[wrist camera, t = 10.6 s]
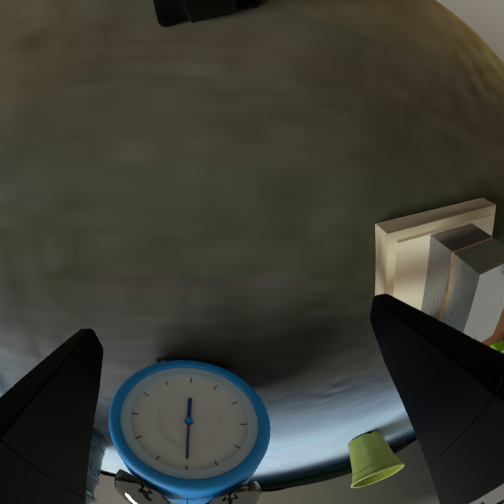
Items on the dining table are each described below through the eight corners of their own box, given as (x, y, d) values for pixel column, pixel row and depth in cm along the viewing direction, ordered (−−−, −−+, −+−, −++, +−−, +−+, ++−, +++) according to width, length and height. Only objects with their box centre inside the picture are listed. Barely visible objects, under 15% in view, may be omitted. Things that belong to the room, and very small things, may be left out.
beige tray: (375, 223, 20) (389, 235, 18) (482, 197, 20) (498, 205, 18) (373, 319, 25) (383, 335, 23) (469, 282, 25) (481, 293, 23)
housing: (420, 313, 22) (457, 362, 17) (430, 235, 19) (485, 279, 13) (458, 297, 22) (496, 339, 16) (471, 222, 19) (524, 259, 13)
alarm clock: (261, 361, 26) (286, 510, 13) (251, 396, 29) (266, 522, 15) (125, 347, 24) (89, 493, 11) (133, 385, 27) (111, 509, 13)
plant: (417, 371, 32) (452, 433, 22) (509, 261, 25) (564, 309, 15) (460, 387, 38) (486, 429, 28) (528, 309, 31) (562, 345, 21)
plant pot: (396, 428, 40) (411, 464, 32) (355, 452, 42) (367, 487, 35) (374, 421, 36) (391, 464, 29) (329, 447, 39) (340, 489, 31)
